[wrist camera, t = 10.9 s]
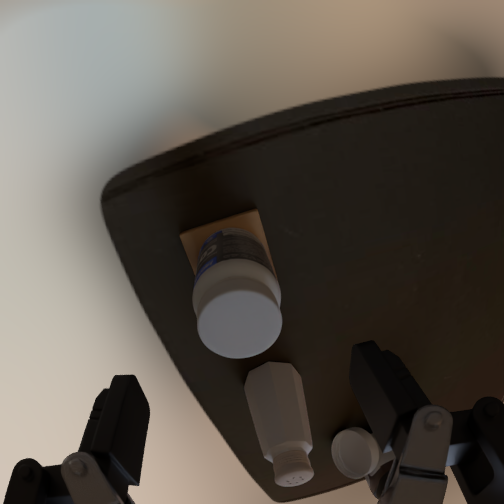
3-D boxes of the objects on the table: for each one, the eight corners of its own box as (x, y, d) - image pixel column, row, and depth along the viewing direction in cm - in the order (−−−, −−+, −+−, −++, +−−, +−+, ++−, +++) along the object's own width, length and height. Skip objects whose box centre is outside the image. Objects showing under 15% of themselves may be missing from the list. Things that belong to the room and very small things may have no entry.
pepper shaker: (266, 351, 26) (291, 457, 15) (311, 372, 27) (347, 466, 17) (231, 388, 27) (241, 489, 17) (276, 405, 28) (297, 497, 18)
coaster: (179, 232, 21) (178, 234, 21) (256, 207, 21) (257, 210, 21) (206, 299, 23) (205, 303, 23) (276, 278, 23) (278, 281, 23)
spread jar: (398, 441, 35) (428, 498, 25) (328, 466, 35) (349, 530, 24) (412, 394, 31) (456, 461, 20) (328, 424, 31) (358, 505, 20)
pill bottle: (203, 221, 21) (194, 273, 13) (271, 232, 21) (302, 287, 13) (194, 284, 22) (184, 359, 14) (257, 292, 23) (277, 368, 15)
